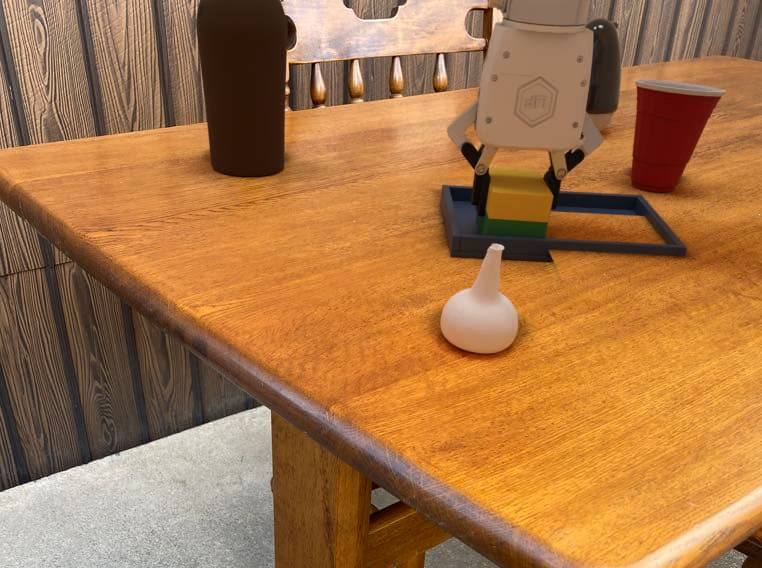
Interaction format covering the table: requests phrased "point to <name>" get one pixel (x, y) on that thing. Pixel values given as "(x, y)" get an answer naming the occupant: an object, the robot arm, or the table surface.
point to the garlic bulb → (481, 311)
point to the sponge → (516, 204)
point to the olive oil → (244, 83)
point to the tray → (473, 244)
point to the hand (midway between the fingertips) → (511, 212)
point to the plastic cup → (668, 130)
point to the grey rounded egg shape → (604, 72)
